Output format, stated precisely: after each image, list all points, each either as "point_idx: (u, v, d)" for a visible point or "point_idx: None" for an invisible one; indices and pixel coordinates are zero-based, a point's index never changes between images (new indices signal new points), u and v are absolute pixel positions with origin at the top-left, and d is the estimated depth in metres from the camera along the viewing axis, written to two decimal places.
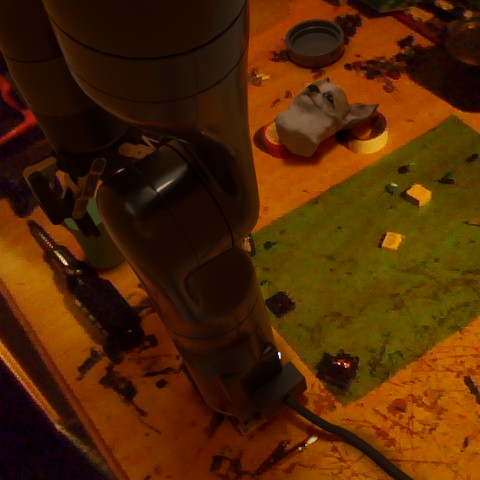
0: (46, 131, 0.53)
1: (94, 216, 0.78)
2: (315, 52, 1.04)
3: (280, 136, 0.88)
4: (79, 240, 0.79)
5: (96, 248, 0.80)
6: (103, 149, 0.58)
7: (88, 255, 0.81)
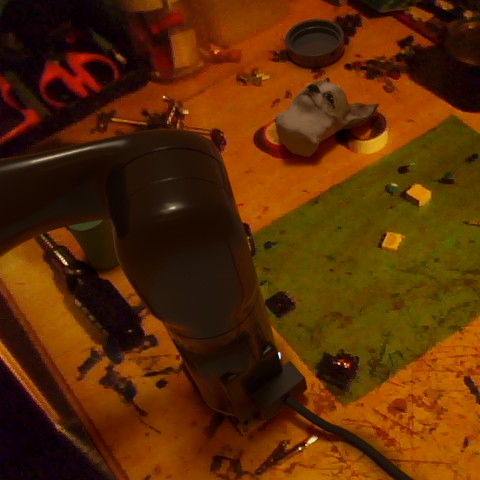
0: None
1: None
2: (315, 52, 1.04)
3: (280, 136, 0.88)
4: (79, 240, 0.79)
5: (96, 248, 0.80)
6: None
7: (88, 255, 0.81)
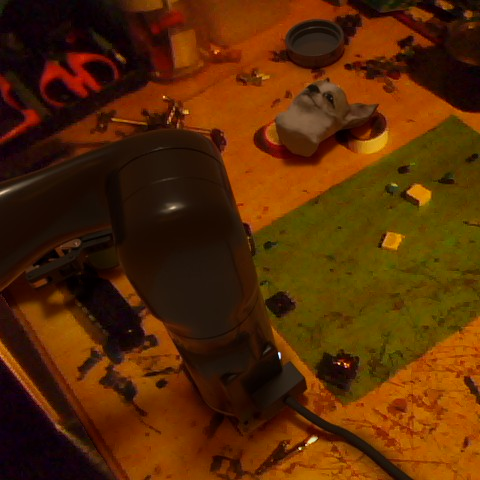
0: None
1: None
2: (315, 52, 1.04)
3: (280, 136, 0.88)
4: None
5: None
6: None
7: (88, 255, 0.81)
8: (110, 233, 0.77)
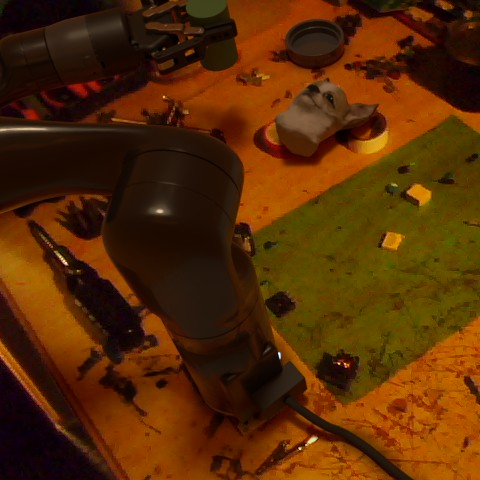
0: None
1: (214, 6, 0.80)
2: (315, 52, 1.04)
3: (280, 136, 0.88)
4: None
5: None
6: None
7: None
8: (231, 22, 0.80)
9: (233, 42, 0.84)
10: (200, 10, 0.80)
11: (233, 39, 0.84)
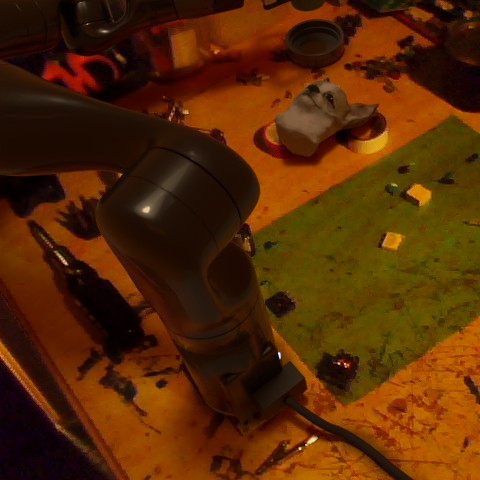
0: None
1: None
2: (315, 52, 1.04)
3: (280, 136, 0.88)
4: None
5: None
6: None
7: None
8: None
9: None
10: None
11: None
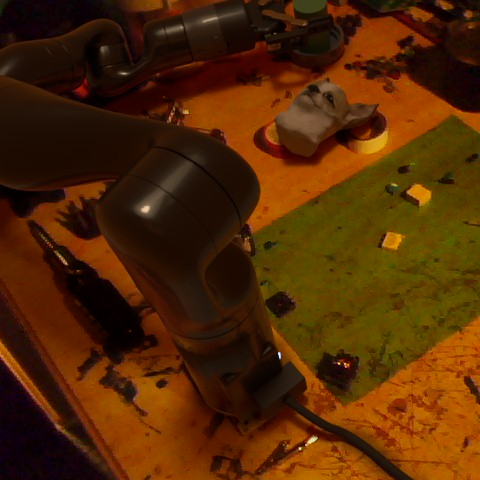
0: None
1: (317, 4, 0.98)
2: None
3: (280, 136, 0.88)
4: None
5: None
6: None
7: None
8: (330, 16, 0.95)
9: (328, 33, 1.02)
10: (305, 7, 0.98)
11: (328, 31, 1.02)
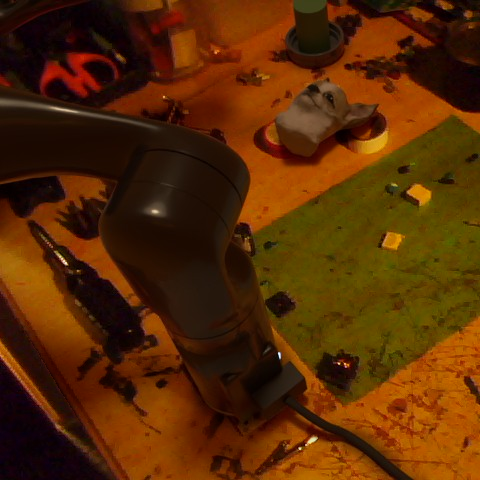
0: None
1: (317, 4, 0.98)
2: None
3: (280, 136, 0.88)
4: (303, 25, 0.99)
5: (315, 33, 1.00)
6: None
7: (305, 42, 1.01)
8: None
9: (328, 33, 1.02)
10: (305, 7, 0.98)
11: (328, 31, 1.02)
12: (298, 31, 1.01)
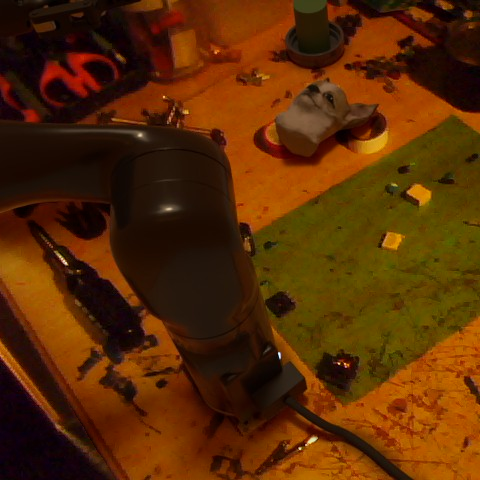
0: None
1: (317, 4, 0.98)
2: None
3: (280, 136, 0.88)
4: (303, 25, 0.99)
5: (315, 33, 1.00)
6: None
7: (305, 42, 1.01)
8: None
9: (328, 33, 1.02)
10: (305, 7, 0.98)
11: (328, 31, 1.02)
12: (298, 31, 1.01)
